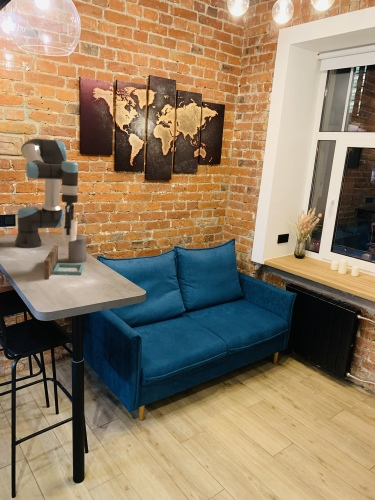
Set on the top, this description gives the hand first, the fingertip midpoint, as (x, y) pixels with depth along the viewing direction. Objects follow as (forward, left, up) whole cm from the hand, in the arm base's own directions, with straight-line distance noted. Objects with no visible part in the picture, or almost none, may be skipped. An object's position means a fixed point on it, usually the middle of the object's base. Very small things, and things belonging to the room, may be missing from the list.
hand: (69, 239), depth 187 cm
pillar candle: (-13, +14, -17) cm, 25 cm away
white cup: (0, 0, 0) cm, 0 cm away
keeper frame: (0, 0, -17) cm, 17 cm away
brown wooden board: (-6, -6, -17) cm, 19 cm away
